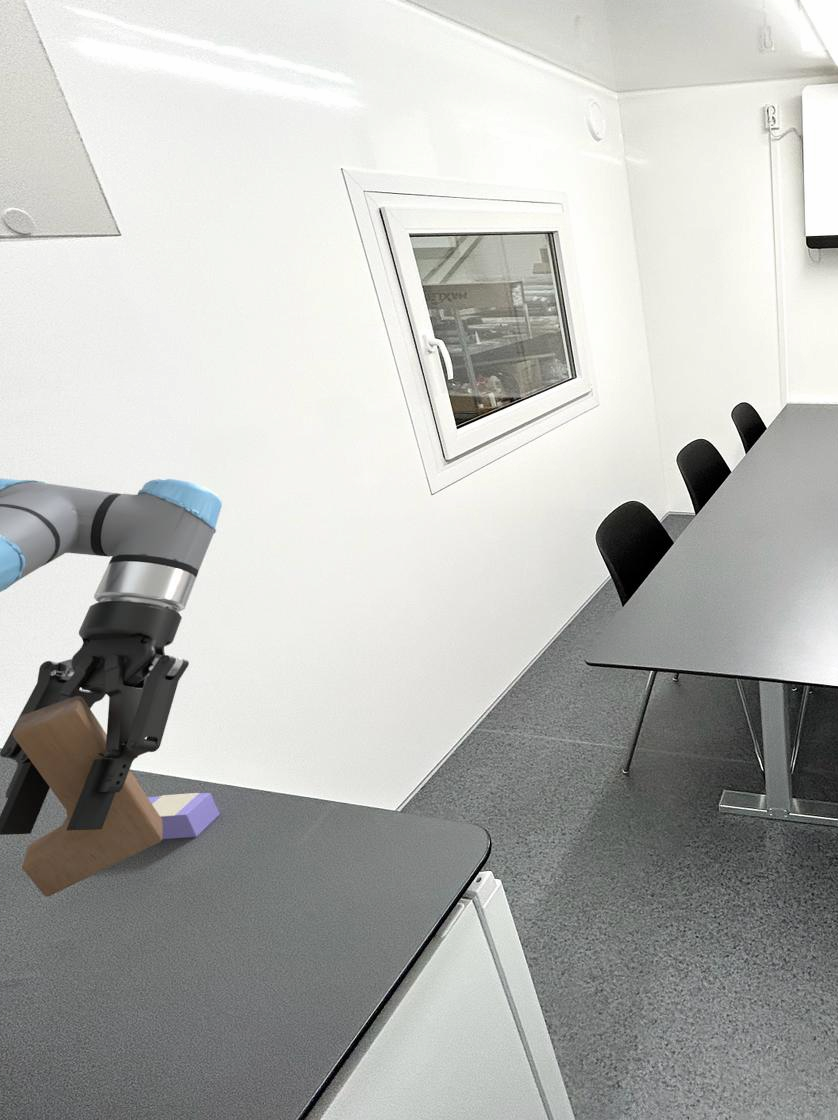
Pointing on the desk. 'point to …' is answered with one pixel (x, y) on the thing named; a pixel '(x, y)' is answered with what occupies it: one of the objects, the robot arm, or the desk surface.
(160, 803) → the snack box
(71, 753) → the wooden block
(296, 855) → the desk surface
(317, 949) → the desk surface
